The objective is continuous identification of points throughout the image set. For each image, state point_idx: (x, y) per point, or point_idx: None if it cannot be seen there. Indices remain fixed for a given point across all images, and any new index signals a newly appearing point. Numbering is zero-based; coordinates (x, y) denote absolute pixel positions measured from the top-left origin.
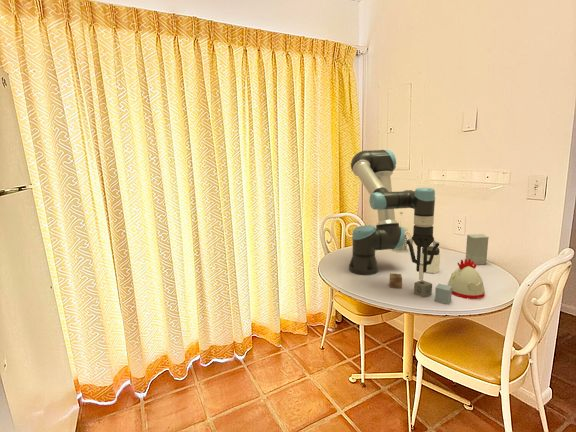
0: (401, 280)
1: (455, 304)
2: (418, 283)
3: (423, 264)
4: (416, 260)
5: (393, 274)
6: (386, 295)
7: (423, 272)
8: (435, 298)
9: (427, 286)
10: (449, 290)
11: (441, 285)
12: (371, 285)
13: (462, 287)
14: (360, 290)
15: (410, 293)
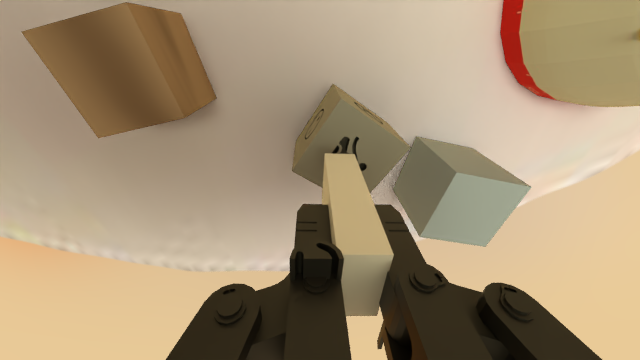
0: (190, 113)
1: None
2: (319, 175)
3: (384, 335)
4: (281, 357)
5: (73, 52)
6: (184, 213)
7: (364, 185)
8: (399, 197)
9: (374, 181)
10: (488, 240)
11: (464, 198)
12: (39, 128)
13: (611, 102)
14: (49, 210)
15: (279, 151)
